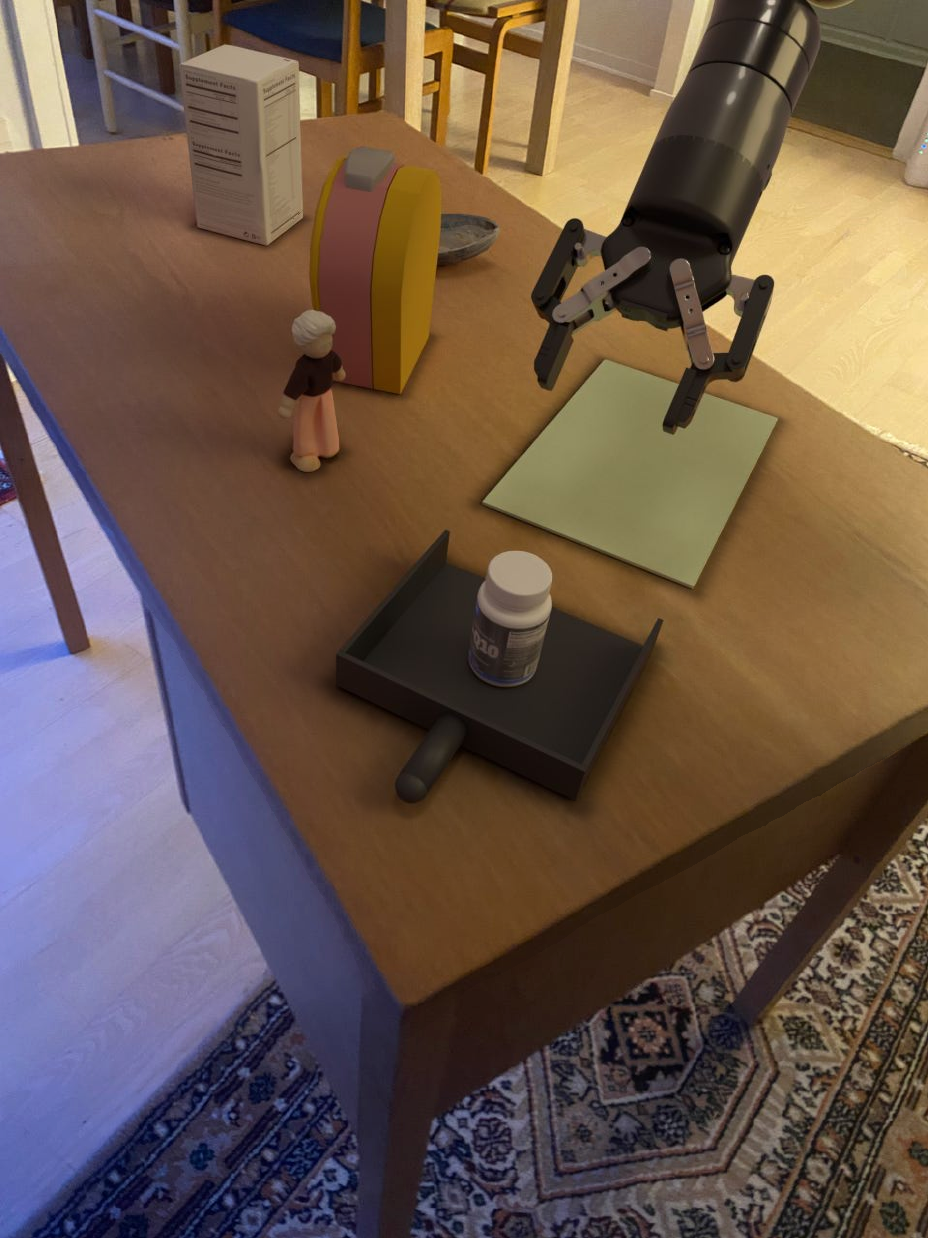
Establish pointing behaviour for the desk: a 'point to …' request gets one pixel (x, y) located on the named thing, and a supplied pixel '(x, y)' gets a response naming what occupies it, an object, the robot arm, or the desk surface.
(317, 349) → the grandmother figurine
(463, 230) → the grey shallow oval dish
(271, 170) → the supplement box
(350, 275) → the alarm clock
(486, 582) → the pill bottle
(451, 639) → the dustpan
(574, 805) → the desk surface
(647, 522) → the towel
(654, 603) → the desk surface
